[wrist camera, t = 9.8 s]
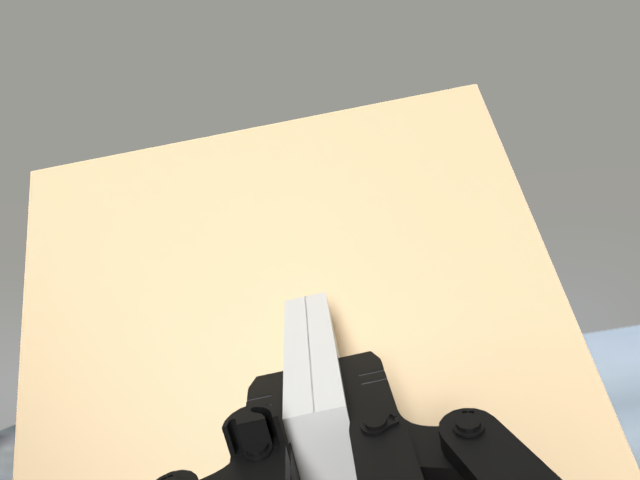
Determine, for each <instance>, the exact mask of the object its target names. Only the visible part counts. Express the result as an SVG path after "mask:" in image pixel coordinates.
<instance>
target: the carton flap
mask: <svg viewBox="0 0 640 480" xmlns="http://www.w3.org/2000/svg"><path fill="white" fill-rule="evenodd" d="M323 292H326V296H327V301H328V305H329V310H330V314H331V319H332V323H333V328H334V333H335V337H336V342H337V346H338V351H339V355H340V357H345V356H350V355H354V354H359V353H364V352H368V351H371V352H373V353H374V354H375V355H377V356H378V357H379V358H380V359H381V361H382V364H383V367H384V371H385V373H386V376H387V379H388V382H389V385H390V388H391V391H392V394H393V397H394V400H395V403H396V406H397V409H398V411H399V413H400V415H401V416H402V417H403V418H404V419H406V420H407V421H409V422H411V423H414V424H418V425H423V426H439V422H440V421H441V419H442V418H443V417H444V415H446V414H448V413H449V412H451V411H453V410H457V409H461V408H476V409H480V410H483V411H486V412H488V413H489V414H491V415H493V416H494V417H495V418H496V419H497V420H499V421H500V422H501V423H502V424H503V425H504V426H505V427H506V428H507V429H508V430H509V431H510V432H512V433H513V434H514V435H515V436H516V437H517V438H518V439H519V440H520V441H521V442H522V443H523V444H524V445H526V446H527V447H528V448H529V449H530V450H531V451H532V452H533V453H534V454H535V455H536V456H537V457H539V458H540V459H541V460H542V461H543V462H544V463H545V464H546V465H547V466H548V467H549V468H550V469H551V470H553V471H554V472H555V473H556V474H557V475H558V476H559V477H560V478H561V479H562V480H640V470H639V468H638V466H637V463H636V461H635V458H634V456H633V454H632V451H631V449H630V447H629V444H628V442H627V440H626V437H625V435H624V432H623V430H622V428H621V425H620V423H619V421H618V418H617V416H616V413H615V411H614V409H613V406H612V404H611V402H610V399H609V397H608V394H607V392H606V390H605V387H604V385H603V383H602V380H601V378H600V375H599V373H598V371H597V368H596V366H595V364H594V361H593V359H592V357H591V354H590V352H589V349H588V347H587V345H586V342H585V340H584V338H583V335H582V333H581V330H580V328H579V326H578V323H577V321H576V319H575V316H574V314H573V311H572V309H571V307H570V304H569V302H568V300H567V297H566V295H565V293H564V290H563V288H562V285H561V283H560V281H559V279H558V276H557V274H556V271H555V269H554V266H553V264H552V262H551V259H550V257H549V255H548V252H547V250H546V247H545V245H544V243H543V240H542V238H541V236H540V233H539V231H538V228H537V226H536V224H535V221H534V219H533V217H532V214H531V212H530V210H529V207H528V205H527V203H526V200H525V198H524V196H523V193H522V191H521V188H520V186H519V183H518V181H517V179H516V177H515V174H514V172H513V169H512V167H511V164H510V162H509V160H508V157H507V155H506V153H505V150H504V148H503V145H502V143H501V141H500V138H499V136H498V134H497V132H496V129H495V127H494V124H493V122H492V119H491V117H490V115H489V112H488V110H487V108H486V105H485V103H484V100H483V98H482V96H481V93H480V91H479V89H478V86H477V84H473V85H468V86H463V87H458V88H453V89H448V90H442V91H437V92H432V93H427V94H422V95H417V96H412V97H407V98H402V99H397V100H392V101H386V102H381V103H377V104H371V105H367V106H361V107H356V108H351V109H346V110H341V111H336V112H331V113H325V114H321V115H315V116H310V117H305V118H300V119H295V120H290V121H285V122H280V123H275V124H269V125H264V126H259V127H254V128H249V129H244V130H239V131H234V132H229V133H224V134H219V135H214V136H208V137H204V138H198V139H193V140H188V141H183V142H178V143H173V144H168V145H163V146H157V147H152V148H147V149H142V150H137V151H132V152H127V153H122V154H117V155H112V156H107V157H102V158H97V159H91V160H86V161H82V162H76V163H71V164H66V165H61V166H56V167H51V168H46V169H41V170H36V171H31V178H30V195H29V211H28V228H27V245H26V263H25V279H24V297H23V313H22V330H21V347H20V363H19V364H20V365H19V382H18V397H17V414H16V431H15V448H14V465H13V480H156V479H158V478H159V477H161V476H163V475H165V474H167V473H169V472H172V471H177V470H189V471H192V472H193V473H195V474H196V475H197V476H198V479H199V480H200V479H202V478H204V477H207V476H209V475H211V474H213V473H215V472H217V471H219V470H220V469H222V468H224V467H225V466H226V465H228V464H229V463H230V457H231V456H230V453H229V450H228V447H227V443H226V440H225V437H224V434H223V431H222V426H223V423H224V421H225V420H226V419H227V418H228V417H229V416H230V415H231V414H232V413H233V412H235V411H237V410H238V409H240V408H242V407H245V406H246V402H247V394H248V388H249V386H250V385H251V383H252V382H253V381H254V379H255V378H256V377H257V376H261V375H266V374H271V373H276V372H280V371H283V358H284V305H285V300H290V299H295V298H299V297H304V296H309V295H313V294H318V293H323Z"/></svg>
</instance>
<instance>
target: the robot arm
mask: <svg viewBox="0 0 640 480" xmlns="http://www.w3.org/2000/svg"><path fill="white" fill-rule="evenodd" d="M222 431H223V434H224V437H225V440H226V443H227V447H228V450H229V453H230V456H231V457H230V463H229V464H228V465H226V466H225V467H224V468H222V469H220V470H219V471H217V472H215V473H213V474H211V475H209V476H207V477H204V478H202V479H200V480H562V479H561V478H560V477H559V476H558V475H557V474H556V473H555V472H554V471H553V470H551V469H550V468H549V467H548V466H547V465H546V464H545V463H544V462H543V461H542V460H541V459H540V458H539V457H537V456H536V455H535V454H534V453H533V452H532V451H531V450H530V449H529V448H528V447H527V446H526V445H524V444H523V443H522V442H521V441H520V440H519V439H518V438H517V437H516V436H515V435H514V434H513V433H512V432H510V431H509V430H508V429H507V428H506V427H505V426H504V425H503V424H502V423H501V422H500V421H499V420H497V419H496V418H495V417H494V416H493V415H491V414H489V413H488V412H486V411H483V410H480V409H476V408H461V409H457V410H453V411H451V412H449V413H448V414H446V415H444V417H443V418H442V419H441V421H440V422H439V426H423V425H418V424H414V423H411V422H409V421H407V420H406V419H404V418H403V417H402V416H401V415H400V413H399V411H398V409H397V406H396V403H395V400H394V397H393V394H392V391H391V388H390V385H389V382H388V379H387V376H386V373H385V371H384V367H383V364H382V361H381V359H380V358H379V357H378V356H377V355H375V354H374V353H373V352H371V351H368V352H364V353H359V354H354V355H350V356H345V357H340V355H339V351H338V346H337V342H336V337H335V333H334V328H333V323H332V319H331V314H330V310H329V305H328V301H327V296H326V292H323V293H318V294H313V295H309V296H304V297H299V298H295V299H290V300H285V305H284V358H283V371H280V372H276V373H271V374H266V375H261V376H257V377H256V378H255V379H254V381H253V382H252V383H251V385H250V386H249V388H248V394H247V402H246V406H245V407H242V408H240V409H238V410H237V411H235V412H233V413H232V414H231V415H230V416H229V417H228V418H227V419H226V420H225V421H224V423H223V426H222ZM156 480H199V479H198V476H197V475H196V474H195V473H193V472H192V471H189V470H177V471H172V472H169V473H167V474H165V475H163V476H161V477H159V478H158V479H156Z"/></svg>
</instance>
